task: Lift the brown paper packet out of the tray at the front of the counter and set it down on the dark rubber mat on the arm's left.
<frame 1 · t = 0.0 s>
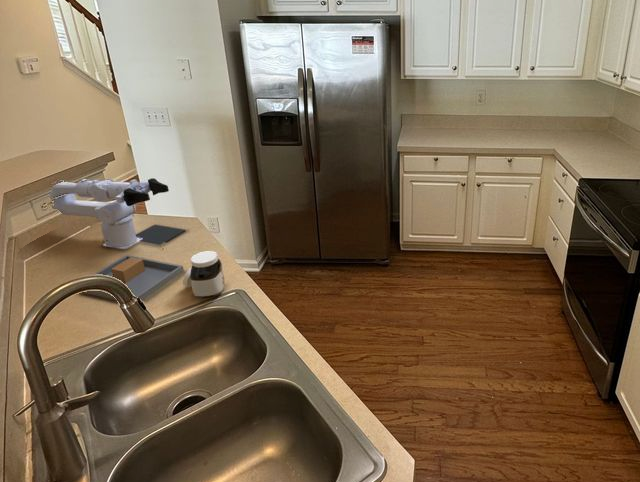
hand: (158, 192, 138), 22 cm above the counter, tool horizontal, fingers open, 7 cm apart
mat: (157, 235, 156), on the counter
tray: (132, 282, 129), on the counter
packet: (129, 275, 131), point 1 cm above the counter, touching tray
spread jar: (204, 290, 126), on the counter
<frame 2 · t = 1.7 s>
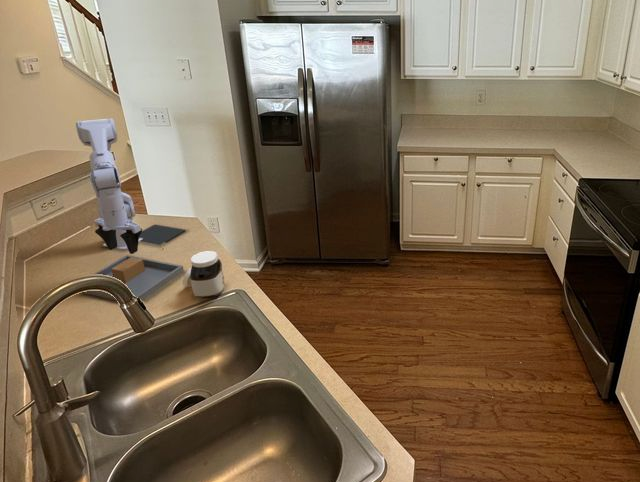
hand: (123, 250, 128), 9 cm above the counter, tool pointing down, fingers open, 7 cm apart
nothing on the counter moved.
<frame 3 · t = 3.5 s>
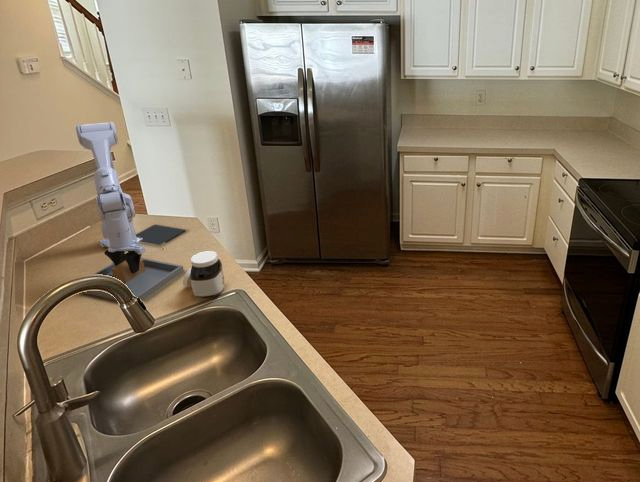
hand: (128, 270, 130), 2 cm above the counter, tool pointing down, fingers closed on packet, 4 cm apart
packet: (130, 275, 131), point 1 cm above the counter, touching tray, gripper
everything else where it was.
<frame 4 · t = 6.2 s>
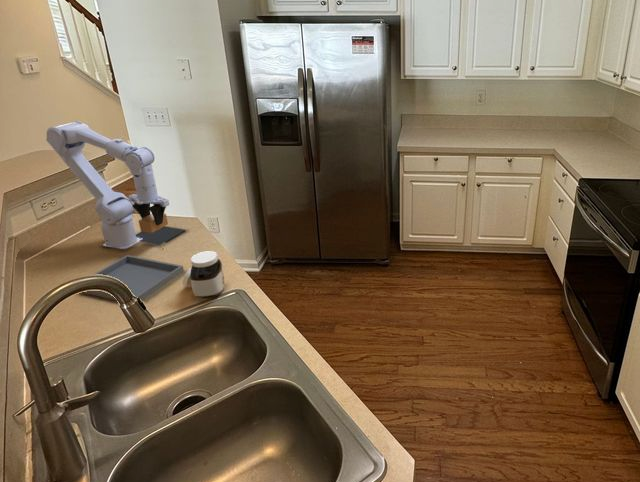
hand: (153, 222, 145), 9 cm above the counter, tool pointing down, fingers closed on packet, 4 cm apart
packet: (154, 227, 145), point 8 cm above the counter, touching gripper
everything else where it was.
when the fingers open (2 cm above the counter, at t = 9.1 s): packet stays where it is, resting on mat.
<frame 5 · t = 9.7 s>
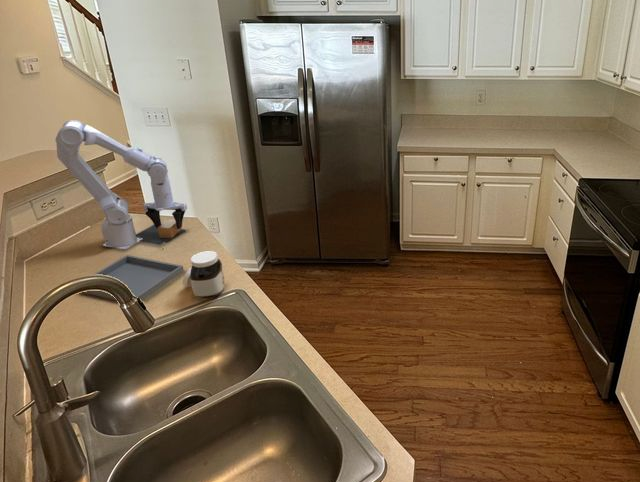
hand: (169, 227, 156), 3 cm above the counter, tool pointing down, fingers open, 7 cm apart
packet: (170, 233, 157), point 1 cm above the counter, touching mat
everything else where it was.
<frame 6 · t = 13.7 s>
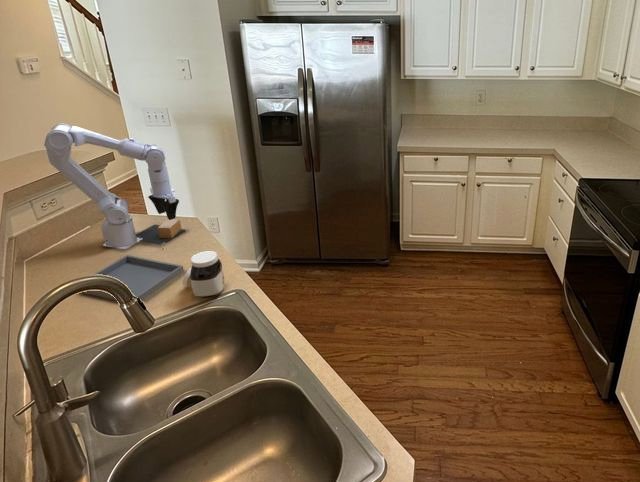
hand: (166, 215, 154), 8 cm above the counter, tool pointing down, fingers open, 7 cm apart
nothing on the counter moved.
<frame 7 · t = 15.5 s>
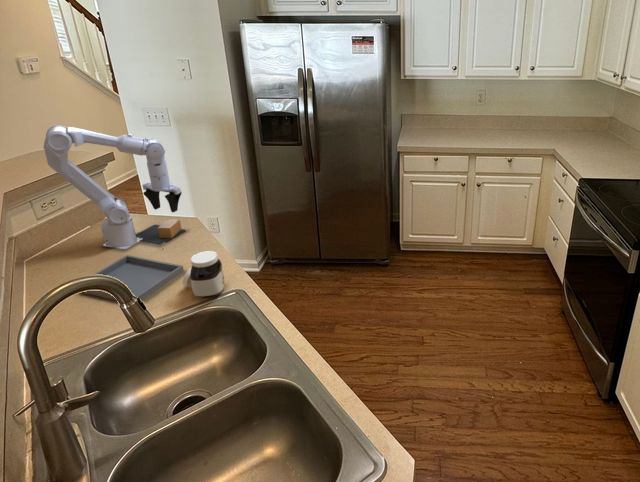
hand: (165, 209, 155), 9 cm above the counter, tool pointing down, fingers open, 7 cm apart
nothing on the counter moved.
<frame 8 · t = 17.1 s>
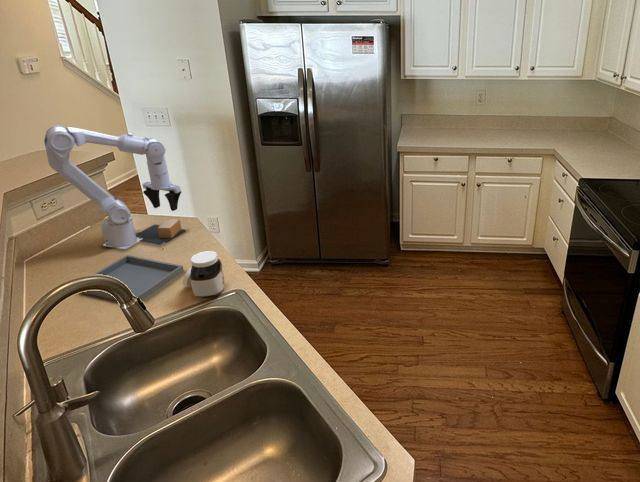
hand: (165, 208, 156), 9 cm above the counter, tool pointing down, fingers open, 7 cm apart
nothing on the counter moved.
at the end: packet inside the target area on the mat (4.5 cm from its centre), point 0.6 cm above the mat's base; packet tilted 0° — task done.
